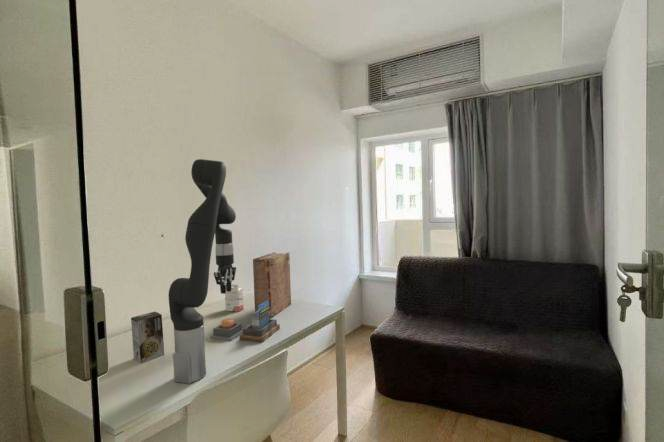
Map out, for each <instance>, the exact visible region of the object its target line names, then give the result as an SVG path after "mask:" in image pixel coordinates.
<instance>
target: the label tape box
mask: <svg viewBox="0 0 664 442" xmlns="http://www.w3.org/2000/svg"><path fill="white" fill-rule="evenodd" d="M263 305H266V306H264V307H262V306H263ZM258 306H259V310H258V311H256V312H255V311H254V312H253V313H252V314H251V323H252V329H260V330H261V329H262V328H263V327H265V326H266V325H268V324H269V319H270V318H269V302H268V301H266V302H264V303H262V304H260V305H258Z"/></svg>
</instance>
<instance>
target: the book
mask: <svg viewBox="0 0 664 442" xmlns="http://www.w3.org/2000/svg"><path fill="white" fill-rule="evenodd" d="M290 261H291V260H290V252H285V253H276V251H274V252H270V253H267V254H265V255H261V256H259V257H256V258H253V259H252V268H253V269H252V270H253V272H252V273H253V293H254V294H253V295H254V296H253V299H254V300H253V301H254V313H255V312H256V311H258V310H259V306H258V305H260V304H262V303H264V302H266V301H268V302H269V319H273V318H274V317H276V315H278V314H279V313H281V312H283V311H284V310H285V309H287V308H288V307H289V306H291V305H292V292H291V291H292V289H291V267H290V266H291V265H290ZM264 306H266V305H263V306H262V307H264Z"/></svg>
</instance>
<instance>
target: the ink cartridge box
mask: <svg viewBox="0 0 664 442" xmlns="http://www.w3.org/2000/svg"><path fill="white" fill-rule="evenodd" d="M225 285H226V284H225ZM238 286H239V285H238V284H232V283H231V287H232V288H231V291H226V293H225V294H224V296H225V297H224V299H225V311H226V312H238V313H239V312H240V311H241V312H242V311H243V310H244V292H243V288H242V287H240V288H239V287H238Z"/></svg>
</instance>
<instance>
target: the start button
mask: <svg viewBox="0 0 664 442" xmlns="http://www.w3.org/2000/svg"><path fill="white" fill-rule="evenodd" d="M220 322H221V325H222V328H227V329H230V328H232V327H233V326H234V323H235V322H234V318H231V317H230V318H223V319H222V320H221V321H220Z"/></svg>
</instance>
